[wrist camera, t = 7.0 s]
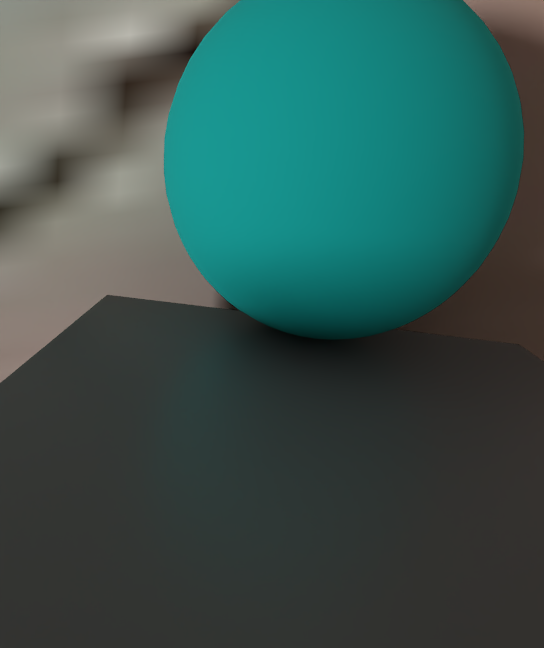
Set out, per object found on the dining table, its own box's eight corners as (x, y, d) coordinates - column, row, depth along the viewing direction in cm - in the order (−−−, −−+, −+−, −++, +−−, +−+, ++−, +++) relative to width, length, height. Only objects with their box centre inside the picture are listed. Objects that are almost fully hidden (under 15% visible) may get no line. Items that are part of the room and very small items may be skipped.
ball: (311, 471, 6) (493, 41, 2) (115, 275, 8) (58, -96, 5) (479, 317, 9) (677, 16, 5) (298, 204, 11) (351, -62, 7)
